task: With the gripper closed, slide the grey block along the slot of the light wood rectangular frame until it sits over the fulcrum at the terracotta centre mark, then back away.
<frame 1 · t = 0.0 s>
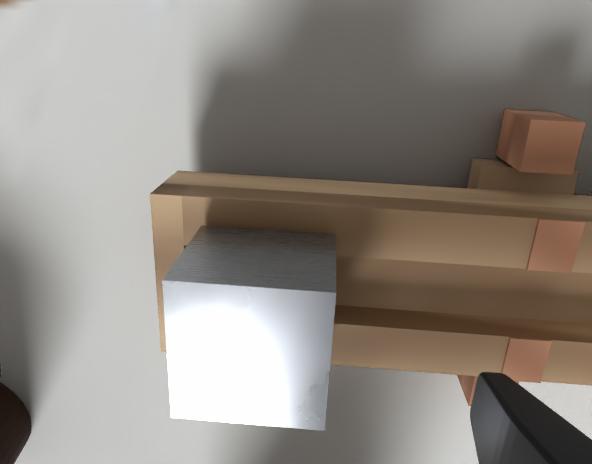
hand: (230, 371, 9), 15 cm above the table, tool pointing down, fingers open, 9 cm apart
light wood rectangular frame: (497, 252, 23), on the table
grey block: (261, 309, 17), point 7 cm above the table, slide at 0.0 cm
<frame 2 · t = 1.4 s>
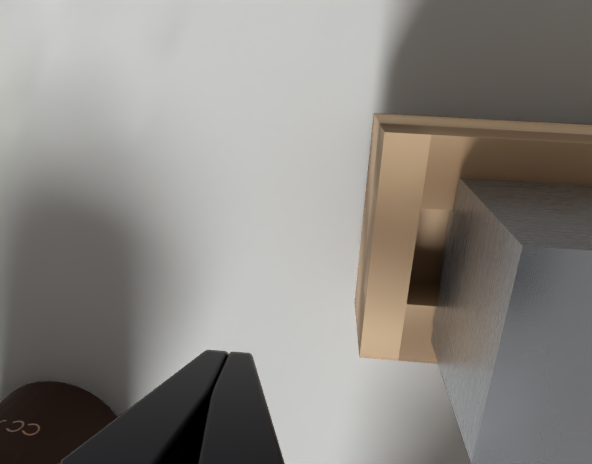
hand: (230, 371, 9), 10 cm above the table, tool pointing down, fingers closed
coffee mug: (35, 428, 24), on the table
grey block: (560, 298, 12), point 7 cm above the table, slide at 0.0 cm
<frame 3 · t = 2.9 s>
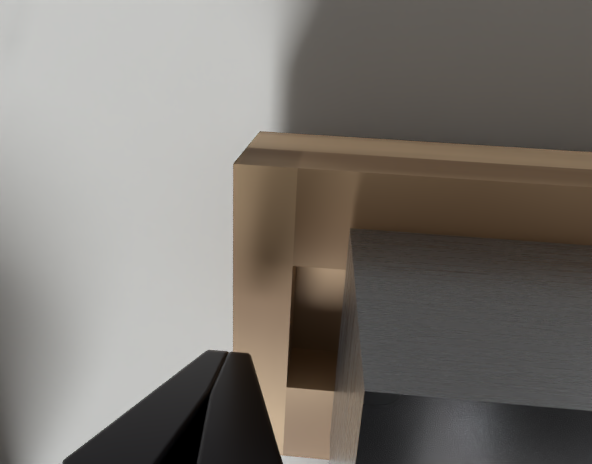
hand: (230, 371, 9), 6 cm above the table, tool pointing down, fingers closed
grey block: (484, 405, 8), point 7 cm above the table, slide at 0.3 cm, touching gripper
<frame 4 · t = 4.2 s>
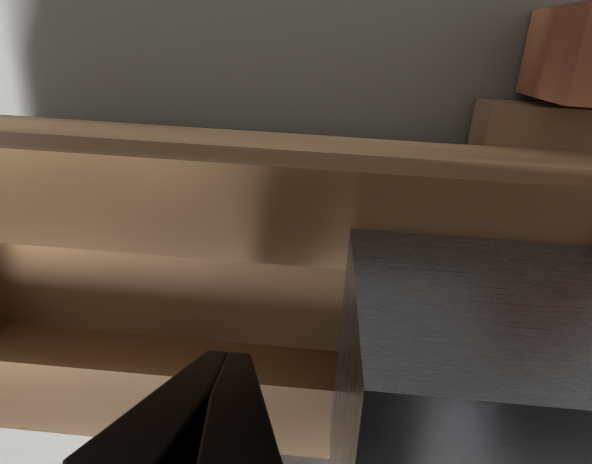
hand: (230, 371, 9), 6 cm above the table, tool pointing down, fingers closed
light wood rectangular frame: (515, 255, 15), on the table
grey block: (484, 404, 8), point 7 cm above the table, slide at 7.7 cm, touching gripper
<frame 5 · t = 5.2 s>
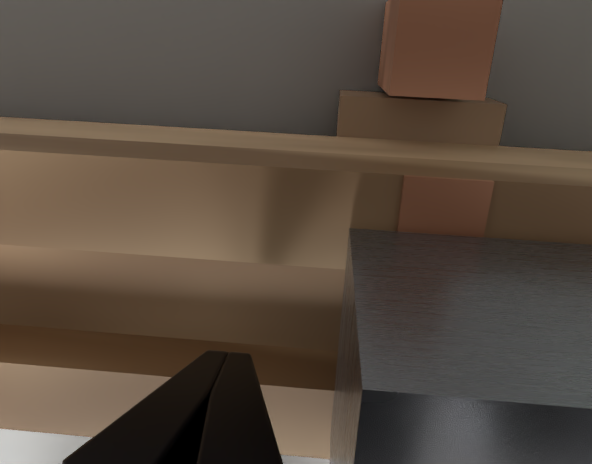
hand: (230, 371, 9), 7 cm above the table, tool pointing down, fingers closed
light wood rectangular frame: (393, 246, 15), on the table
grey block: (484, 403, 8), point 7 cm above the table, slide at 11.3 cm, touching gripper
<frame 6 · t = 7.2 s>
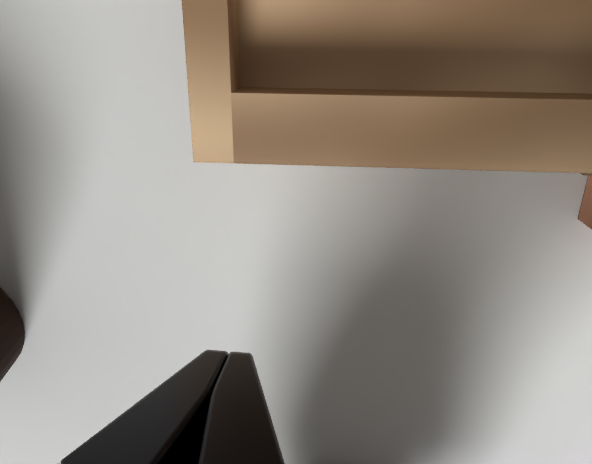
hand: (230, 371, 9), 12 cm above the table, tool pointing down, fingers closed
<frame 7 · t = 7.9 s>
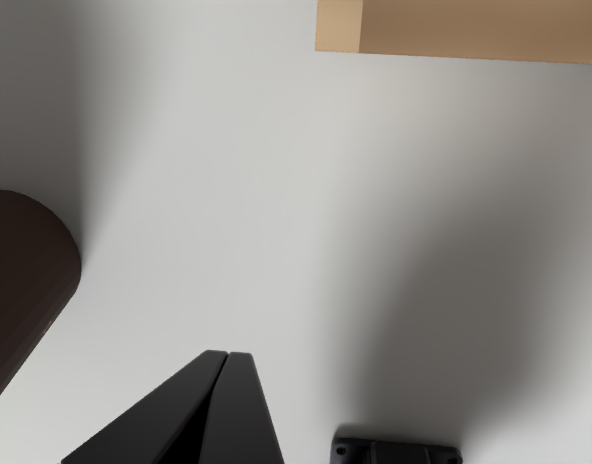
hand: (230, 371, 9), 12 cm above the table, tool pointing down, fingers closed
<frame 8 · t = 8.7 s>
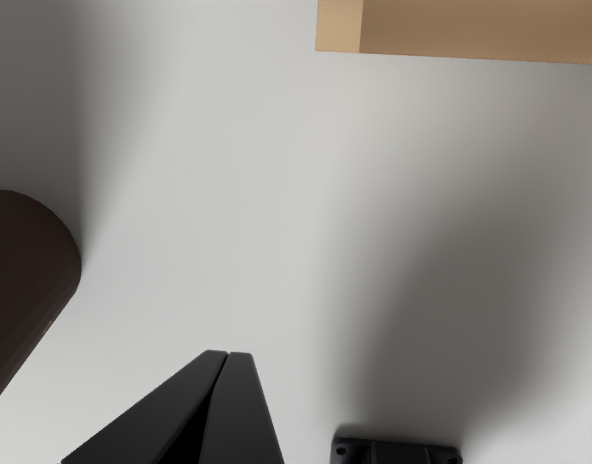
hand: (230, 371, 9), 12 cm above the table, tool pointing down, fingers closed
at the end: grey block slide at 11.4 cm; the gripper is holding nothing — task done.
